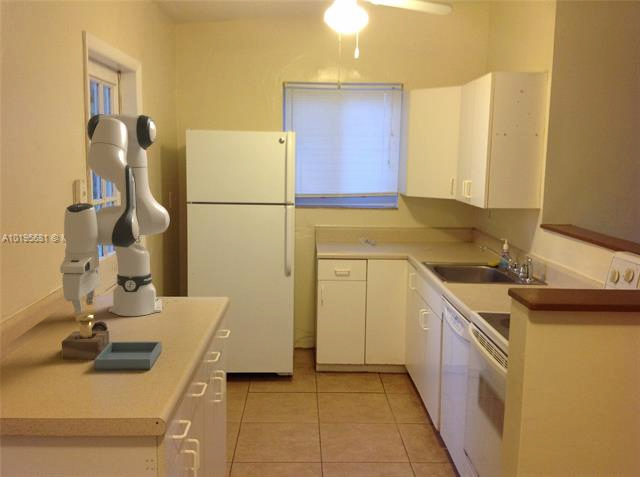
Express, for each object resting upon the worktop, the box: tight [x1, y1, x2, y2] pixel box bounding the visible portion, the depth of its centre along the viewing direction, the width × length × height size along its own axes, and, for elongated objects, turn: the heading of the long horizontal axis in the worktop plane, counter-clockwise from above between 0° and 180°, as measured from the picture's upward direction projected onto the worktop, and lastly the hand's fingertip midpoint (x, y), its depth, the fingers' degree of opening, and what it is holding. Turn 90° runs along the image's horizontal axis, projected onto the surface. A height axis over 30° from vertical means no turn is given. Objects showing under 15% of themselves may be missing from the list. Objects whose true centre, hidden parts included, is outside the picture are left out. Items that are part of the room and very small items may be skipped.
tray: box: [94, 341, 163, 371], centre depth 161 cm, size 15×15×3 cm
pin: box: [75, 312, 95, 339], centre depth 166 cm, size 5×5×11 cm
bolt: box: [91, 321, 109, 331], centre depth 180 cm, size 6×5×15 cm
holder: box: [61, 330, 110, 360], centre depth 167 cm, size 10×10×5 cm
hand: (84, 308), depth 165 cm, fingers open, 8 cm apart
